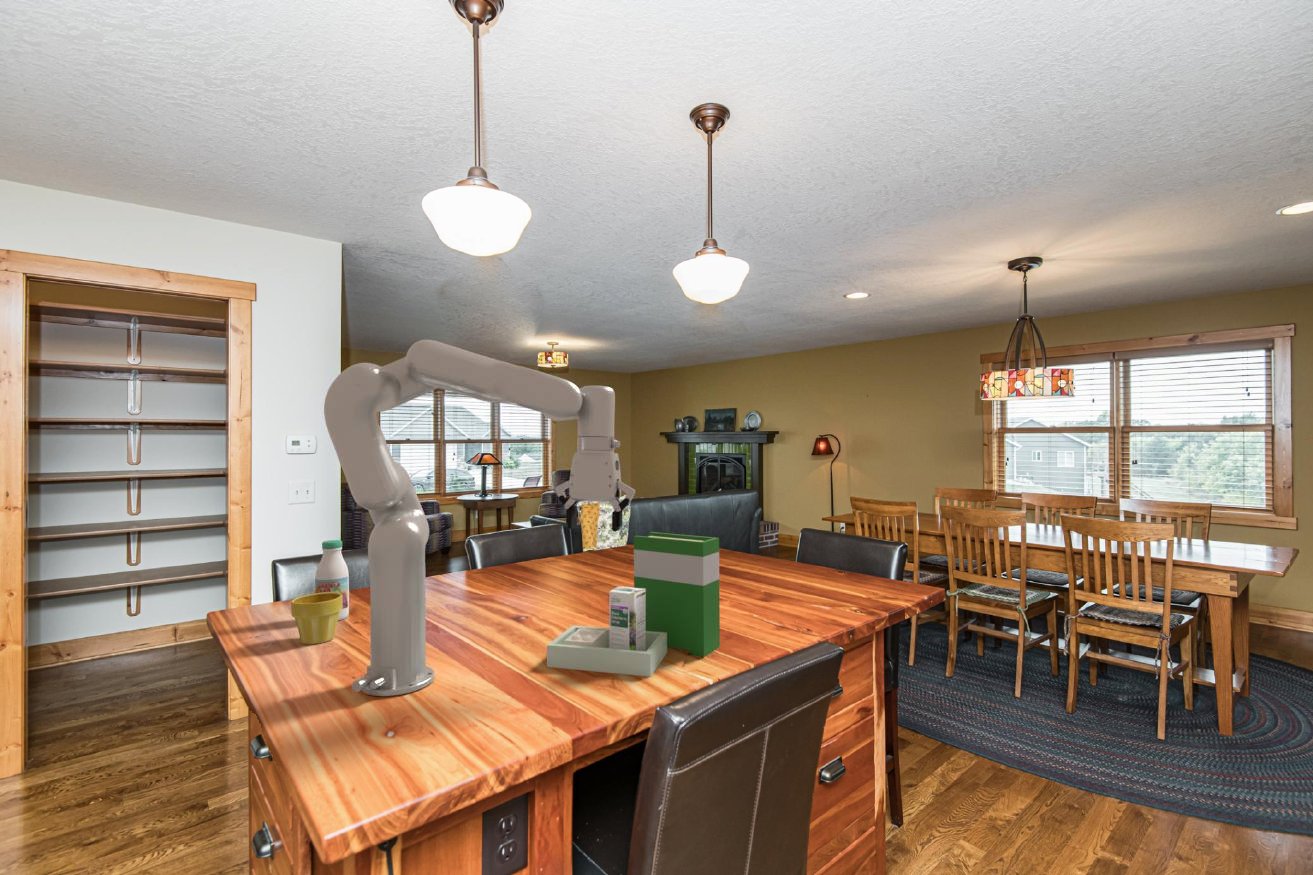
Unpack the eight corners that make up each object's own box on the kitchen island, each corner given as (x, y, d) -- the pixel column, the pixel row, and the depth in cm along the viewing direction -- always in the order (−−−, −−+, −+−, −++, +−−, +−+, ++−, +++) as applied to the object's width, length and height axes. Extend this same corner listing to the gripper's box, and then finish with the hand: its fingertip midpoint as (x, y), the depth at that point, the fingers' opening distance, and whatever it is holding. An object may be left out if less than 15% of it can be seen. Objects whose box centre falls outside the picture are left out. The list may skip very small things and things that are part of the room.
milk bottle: (316, 616, 155) (316, 540, 155) (349, 612, 158) (349, 538, 159) (313, 624, 148) (313, 544, 148) (348, 620, 151) (348, 542, 152)
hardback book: (634, 643, 133) (633, 536, 133) (652, 634, 139) (651, 532, 140) (703, 657, 124) (703, 542, 124) (719, 647, 130) (719, 537, 130)
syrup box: (608, 664, 118) (607, 591, 118) (622, 654, 123) (621, 584, 124) (633, 668, 116) (633, 593, 116) (646, 658, 121) (646, 587, 121)
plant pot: (279, 645, 133) (279, 601, 133) (318, 631, 143) (318, 590, 143) (315, 649, 130) (316, 604, 130) (353, 635, 140) (353, 593, 140)
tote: (650, 680, 112) (650, 654, 112) (546, 670, 117) (546, 645, 117) (667, 656, 124) (666, 632, 124) (572, 648, 130) (572, 625, 130)
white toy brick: (592, 665, 117) (592, 639, 117) (564, 662, 119) (564, 636, 119) (606, 651, 125) (605, 627, 125) (579, 649, 126) (579, 625, 127)
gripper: (641, 447, 123) (639, 529, 123) (564, 445, 128) (562, 524, 128) (629, 446, 116) (628, 534, 116) (549, 445, 121) (547, 529, 121)
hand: (593, 529), depth 122 cm, fingers open, 9 cm apart
